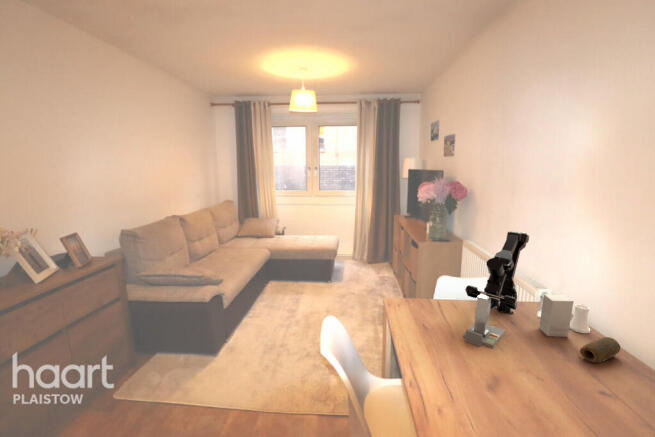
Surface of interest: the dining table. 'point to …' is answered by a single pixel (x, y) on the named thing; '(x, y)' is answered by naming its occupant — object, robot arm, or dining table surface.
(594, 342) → the brown hollow cylinder
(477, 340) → the gauge board
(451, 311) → the dining table surface
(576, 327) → the vase
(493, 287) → the robot arm
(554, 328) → the skincare box
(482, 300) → the bar
